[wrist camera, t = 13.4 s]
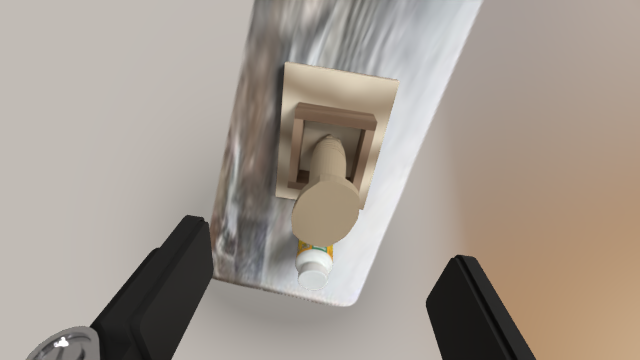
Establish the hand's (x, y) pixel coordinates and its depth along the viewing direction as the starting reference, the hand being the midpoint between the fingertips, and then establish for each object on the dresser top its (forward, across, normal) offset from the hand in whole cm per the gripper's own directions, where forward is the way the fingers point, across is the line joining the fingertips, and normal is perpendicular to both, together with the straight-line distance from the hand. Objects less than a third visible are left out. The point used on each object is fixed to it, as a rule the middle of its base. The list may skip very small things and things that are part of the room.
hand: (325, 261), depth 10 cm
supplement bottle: (+25, -1, +22) cm, 33 cm away
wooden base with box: (+25, 0, +6) cm, 26 cm away
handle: (+24, 0, +5) cm, 24 cm away
